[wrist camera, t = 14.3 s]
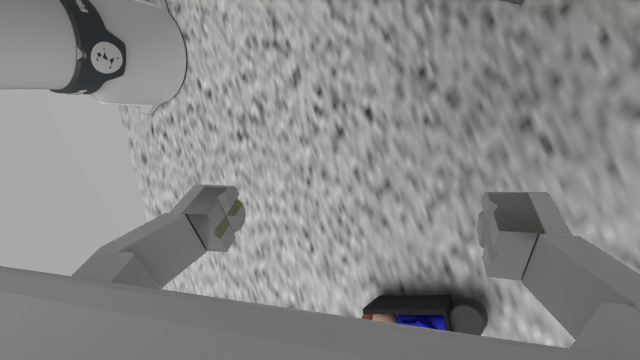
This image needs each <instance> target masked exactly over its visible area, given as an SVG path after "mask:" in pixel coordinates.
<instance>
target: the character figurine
mask: <svg viewBox="0 0 640 360" xmlns="http://www.w3.org/2000/svg"><path fill="white" fill-rule="evenodd" d="M363 313H364V315H363V317H362V319H368V320H375V321H382V322H389V323H396V324H403V325H410V326H417V327H424V328H431V329H437V330H444V331H451V332H458V333H465V334H472V335H479V336H480V335H481V334H482V333H483V330H484V329H485V327H486V325H487V322H488V318H487V312H486V310H485V308H484V307H483V305H482V304H481V303H479V302H478V301H476V300H474V299H471V298H462V299H460V300H458V301H457V302H456V303H455V304H454V306H453V304H452V300H451V298H450V295H432V296H379V297H377V298H376V299H375V300H373V301H372V302H371V303H370V304H368V305H367V306H366V307H365V308H363ZM396 315H399V316H398V318H397V316H396Z"/></svg>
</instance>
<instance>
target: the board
mask: <svg viewBox="0 0 640 360" xmlns="http://www.w3.org/2000/svg"><path fill="white" fill-rule="evenodd" d="M501 1H506V2H511V3H515V4H520V5H521V4H522V3H523V1H524V0H501Z"/></svg>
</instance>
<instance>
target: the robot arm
mask: <svg viewBox="0 0 640 360" xmlns="http://www.w3.org/2000/svg"><path fill="white" fill-rule="evenodd" d="M185 71H186V51H185V46H184V41H183V38H182V35H181V33H180V30H179V28H178V26H177V25H176V23H175V21H174V20H173V19H172V17H171V16H170V14H169V12H168V9H167V6H166V2H165V0H0V89H49V90H51V91H52V92H56V93H65V94H69V95H79V94H90V95H91V96H92V97H93V98H94V99H96V100H98V101H99V103H102V104H108V105H128V106H133V107H135V108H136V109H137V110H139V111H140V112H141V113H143V114H149V115H150V114H152V113H153V112H154V111H155V110H156V109H157V107H158V106H159V105H160V104H162V103H164V102H167V101H169V100H170V99H172V98H173V97H174V96H175V95H176V94H177V92H178V91H179V89H180V87H181V85H182V83H183V80H184V76H185ZM238 196H239V193H238V191H237V189H236V187H233V186H225V185H199V184H198V185H195V186H193V187H192V188H191V189H190V190H189V192H188V193H187V194H186V195H185V196H184V197H183V198H182V199H181V200H180V202H179V203H178V204H177V205H176V206H175V207H174V208H173V209H172V210H171V212H170V213H165V214H163V215H161V216H159V217H157V218H155V219H153V220H151V221H150V222H148V223H146V224H144V225H142V226H140V227H138V228H136V229H134V230H133V231H131V232H129V233H127V234H125V235H123V236H121V237H120V238H117V239H116V240H114V241H112V242H110V243H108V244H106V245H104V246H102V247H101V248H99V249H98V250H97V251H96V252H95V253H94V254H93V255H92V256H91V257H90V258H89V259H88V260H87V261H86V262H85V263H84V264H83V265H82V266H81V267H80V268H79V269H78V270H77V271H76V272H75V273H74V274H73V275H72V276H64V275H58V274H50V273H44V272H37V271H30V270H23V269H16V268H10V267H3V266H0V360H640V274H638V273H637V272H635V271H633V270H632V269H630V268H629V267H627V266H626V265H624V264H622V263H621V262H619V261H618V260H616V259H615V258H613V257H611V256H610V255H608V254H607V253H605V252H603V251H602V250H600V249H599V248H597V247H596V246H594V245H592V244H591V243H589V242H588V241H586V240H585V239H583V238H581V237H580V236H572V234H571V232H570V230H569V228H568V226H567V225H566V223H565V221H564V219H563V217H562V216H561V214H560V212H559V210H558V208H557V207H556V205H555V203H554V201H553V199H552V197H551V196H550V194H549V193H547V192H525V193H523V192H484V195H483V198H482V206H483V211H482V212H481V213H480V214H479V218H478V239H479V244H480V246H482V247H483V248H484V252H483V256H482V258H483V262H484V267H485V271H486V275H487V277H496V278H504V279H513V280H521V281H522V283H523V284H524V285H525V286H526V287H527V288H528V290H529V291H530V292H531V293H532V294H533V295H534V296H535V297H536V298H537V299H538V300H539V301H540V302H541V303H542V304H543V306H544V307H545V308H546V309H547V310H548V311H549V312H550V313H551V314H552V315H553V316H554V317H555V318H556V319H557V320H558V322H559V323H560V324H561V325H562V326H563V327H564V328H565V329H566V330H567V331H568V332H569V333H570V334H571V335H572V336H573V338H574V339H575V342H574V343H573V345H572V346H571V348H570V349H568V348H562V347H555V346H548V345H541V344H534V343H527V342H520V341H513V340H506V339H500V338H493V337H486V336H479V335H472V334H465V333H458V332H451V331H444V330H437V329H431V328H424V327H417V326H410V325H403V324H396V323H389V322H382V321H375V320H368V319H361V318H354V317H347V316H340V315H333V314H326V313H319V312H312V311H305V310H299V309H292V308H285V307H278V306H271V305H264V304H258V303H251V302H244V301H237V300H230V299H223V298H216V297H210V296H203V295H196V294H189V293H182V292H175V291H168V290H163V289H162V287H164V286H165V285H166V284H167V283H168V282H170V281H171V280H172V279H173V278H175V277H176V276H177V275H178V274H180V273H181V272H182V271H183V270H185V269H186V268H187V267H188V266H190V265H191V264H192V263H193V262H194V261H196V260H197V259H198V258H199V257H201V256H202V255H203V254H204V253H206V251H220V252H227V251H228V249H229V248H230V246H231V244H232V243H233V241H234V239H235V232H237V231H238V230H240V229H241V228H242V226H243V224H244V221H245V216H246V213H245V208H244V205H243V203H241V202H240V201H239V200H238Z"/></svg>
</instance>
